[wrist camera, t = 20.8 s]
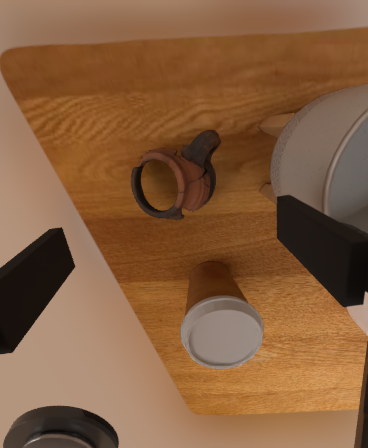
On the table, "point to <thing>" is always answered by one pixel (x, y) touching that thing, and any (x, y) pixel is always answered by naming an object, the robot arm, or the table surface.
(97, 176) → the table surface
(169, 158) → the pottery mug
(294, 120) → the planter
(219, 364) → the disposable coffee cup
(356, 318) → the pot
